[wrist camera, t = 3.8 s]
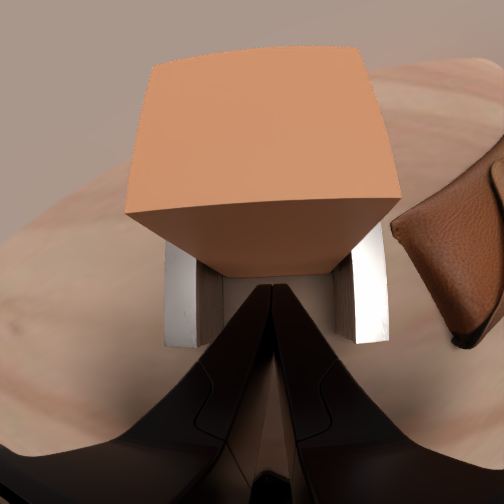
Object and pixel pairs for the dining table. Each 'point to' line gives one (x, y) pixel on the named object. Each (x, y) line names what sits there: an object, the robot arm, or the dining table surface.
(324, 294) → the dining table surface
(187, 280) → the silver twin-wall channel
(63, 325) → the dining table surface
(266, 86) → the block
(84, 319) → the dining table surface
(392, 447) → the robot arm
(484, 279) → the sunglasses case
